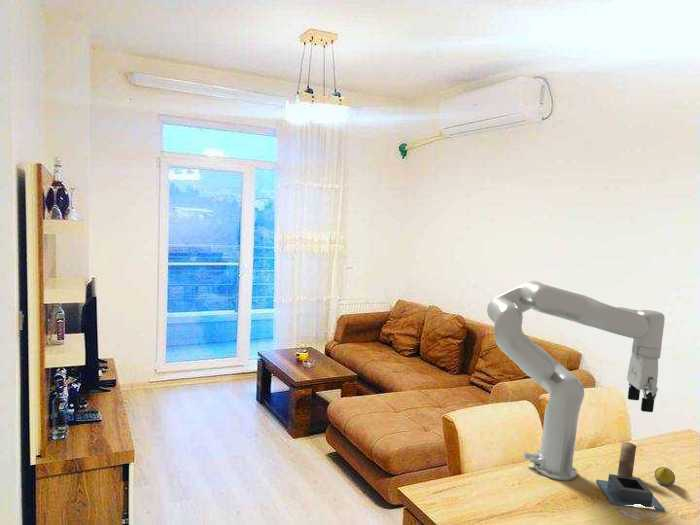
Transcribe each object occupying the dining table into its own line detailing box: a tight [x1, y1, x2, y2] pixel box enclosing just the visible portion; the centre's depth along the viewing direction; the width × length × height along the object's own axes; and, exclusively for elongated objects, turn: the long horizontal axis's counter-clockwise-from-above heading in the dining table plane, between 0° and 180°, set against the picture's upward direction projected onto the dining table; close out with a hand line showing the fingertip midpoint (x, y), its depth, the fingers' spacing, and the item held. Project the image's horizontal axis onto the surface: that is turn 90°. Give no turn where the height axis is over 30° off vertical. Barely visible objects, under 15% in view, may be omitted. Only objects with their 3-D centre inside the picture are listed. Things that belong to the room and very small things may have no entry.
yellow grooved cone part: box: [654, 466, 676, 487], centre depth 154 cm, size 5×5×10 cm
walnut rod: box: [617, 441, 637, 477], centre depth 158 cm, size 4×4×10 cm
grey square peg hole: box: [595, 473, 665, 512], centre depth 146 cm, size 14×12×4 cm
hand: (639, 405), depth 155 cm, fingers open, 9 cm apart
